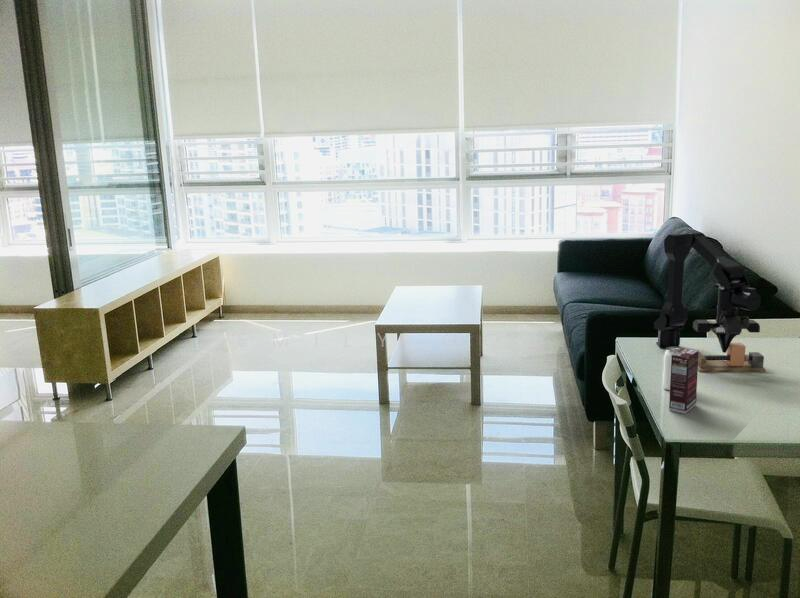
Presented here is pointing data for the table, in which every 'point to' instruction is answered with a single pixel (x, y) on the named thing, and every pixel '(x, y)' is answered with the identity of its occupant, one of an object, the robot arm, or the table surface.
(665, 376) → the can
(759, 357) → the comb rail
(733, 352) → the sleeve
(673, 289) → the robot arm
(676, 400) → the supplement box
